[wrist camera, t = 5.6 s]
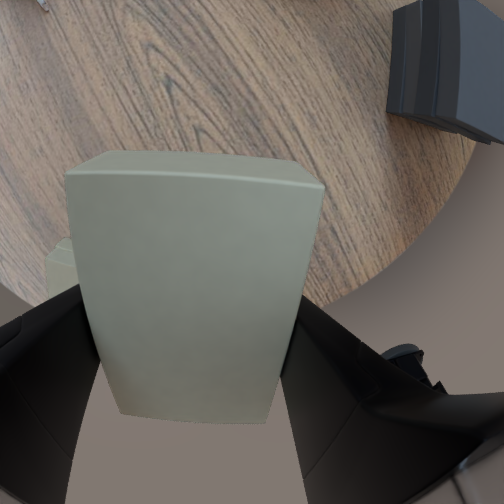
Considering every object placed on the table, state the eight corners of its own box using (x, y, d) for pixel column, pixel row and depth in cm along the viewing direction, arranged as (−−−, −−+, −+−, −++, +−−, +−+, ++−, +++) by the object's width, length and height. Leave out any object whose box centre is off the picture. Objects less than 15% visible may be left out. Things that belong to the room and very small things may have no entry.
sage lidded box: (139, 255, 22) (127, 279, 19) (134, 305, 24) (124, 331, 21) (64, 236, 21) (43, 256, 18) (65, 285, 23) (48, 309, 20)
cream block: (259, 373, 11) (265, 424, 9) (132, 365, 10) (120, 414, 8) (298, 161, 7) (327, 186, 5) (106, 150, 7) (62, 171, 5)
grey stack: (443, 133, 19) (512, 152, 12) (383, 114, 19) (452, 123, 12) (451, 37, 15) (517, 30, 8) (391, 8, 15) (453, -18, 8)
